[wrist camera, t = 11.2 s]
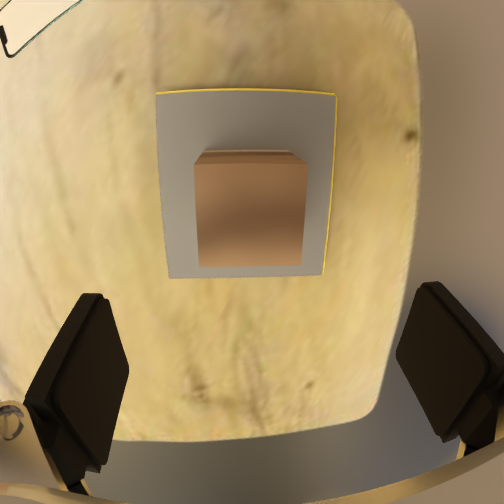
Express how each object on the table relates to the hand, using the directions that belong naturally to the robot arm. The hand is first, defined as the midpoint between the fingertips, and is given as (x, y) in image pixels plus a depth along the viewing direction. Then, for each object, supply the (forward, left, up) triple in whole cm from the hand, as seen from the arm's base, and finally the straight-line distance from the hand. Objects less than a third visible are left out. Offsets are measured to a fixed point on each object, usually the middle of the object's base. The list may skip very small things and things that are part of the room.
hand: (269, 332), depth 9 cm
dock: (0, 0, -21) cm, 21 cm away
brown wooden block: (0, 0, -18) cm, 18 cm away
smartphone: (-22, -19, -21) cm, 36 cm away
